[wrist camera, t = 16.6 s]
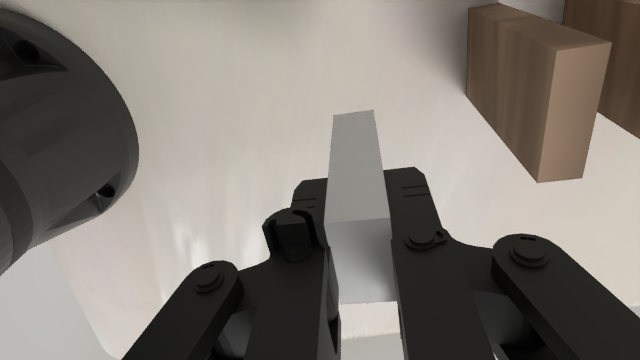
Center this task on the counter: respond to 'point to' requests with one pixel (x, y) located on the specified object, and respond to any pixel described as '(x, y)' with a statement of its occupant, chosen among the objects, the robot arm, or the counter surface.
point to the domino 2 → (614, 54)
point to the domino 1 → (536, 87)
